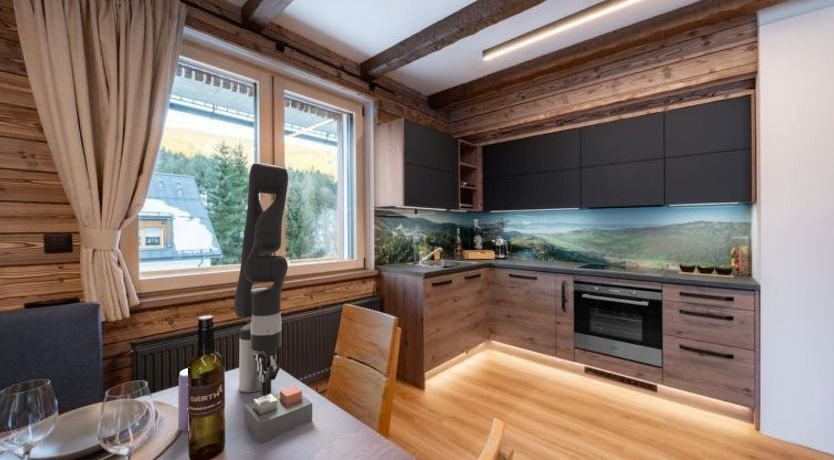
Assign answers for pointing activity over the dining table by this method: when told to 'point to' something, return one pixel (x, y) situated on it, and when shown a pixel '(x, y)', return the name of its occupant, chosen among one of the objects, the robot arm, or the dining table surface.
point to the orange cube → (290, 395)
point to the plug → (265, 404)
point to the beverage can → (183, 401)
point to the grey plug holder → (277, 419)
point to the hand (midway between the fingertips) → (265, 394)
